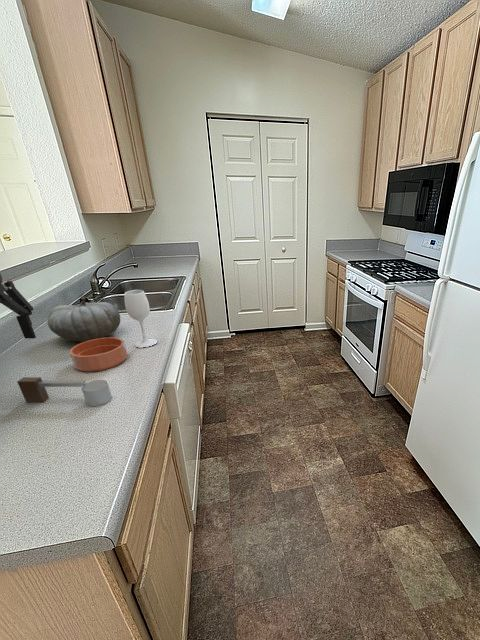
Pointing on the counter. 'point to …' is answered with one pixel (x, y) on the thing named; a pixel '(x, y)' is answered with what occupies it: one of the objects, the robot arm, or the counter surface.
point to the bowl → (98, 354)
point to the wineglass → (138, 313)
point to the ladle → (36, 391)
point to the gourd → (84, 320)
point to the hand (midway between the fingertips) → (11, 347)
